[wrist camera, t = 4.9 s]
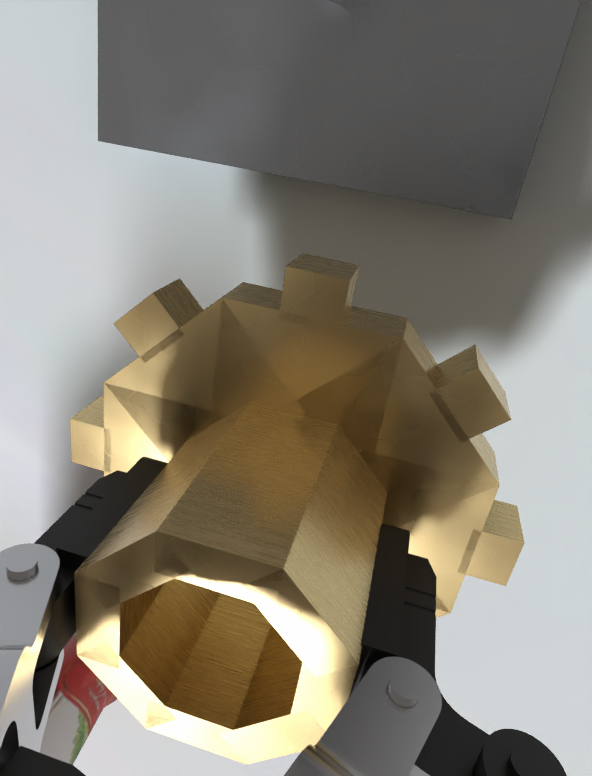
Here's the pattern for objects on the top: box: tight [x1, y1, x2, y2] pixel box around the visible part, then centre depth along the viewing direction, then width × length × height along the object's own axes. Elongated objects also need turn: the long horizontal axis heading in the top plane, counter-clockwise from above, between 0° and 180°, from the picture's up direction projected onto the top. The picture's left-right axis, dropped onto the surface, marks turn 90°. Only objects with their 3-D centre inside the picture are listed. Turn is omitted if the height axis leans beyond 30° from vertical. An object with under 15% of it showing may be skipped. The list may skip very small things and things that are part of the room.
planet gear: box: [70, 254, 524, 764], centre depth 13 cm, size 12×12×6 cm
